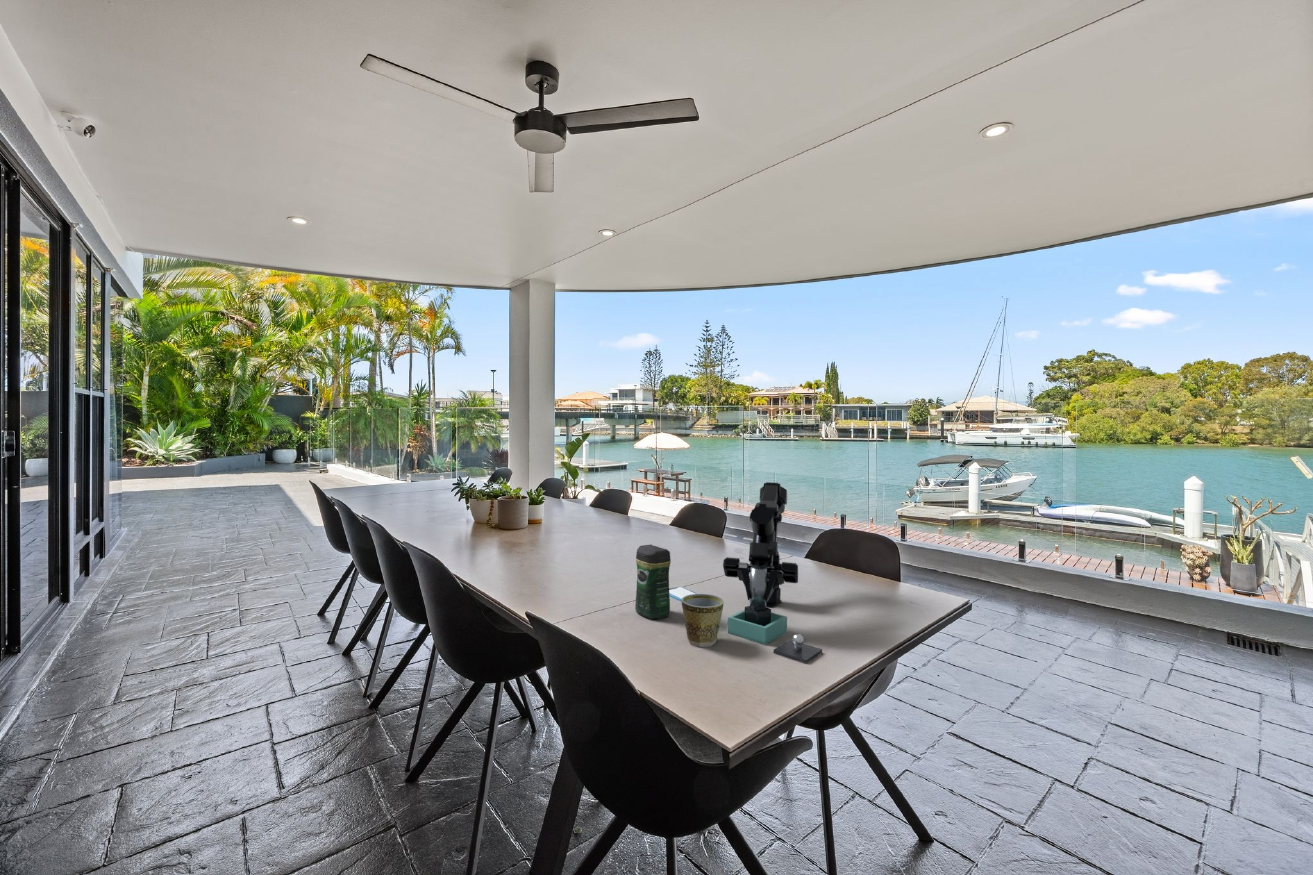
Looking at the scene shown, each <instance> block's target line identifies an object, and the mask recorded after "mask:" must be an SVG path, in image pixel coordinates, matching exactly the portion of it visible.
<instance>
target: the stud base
mask: <svg viewBox="0 0 1313 875" xmlns="http://www.w3.org/2000/svg"><path fill="white" fill-rule="evenodd" d="M804 642H805V638H804V636H803V635H802V634H800V633H795V634H793V636H792V637H791V639H789V640H787V641H786V642H784V643H782V644H781V645H779V646H777V647H775V648H773V654H775V655H778V656H781V657H784V658H787V659H790V660H793V661H795V662H800V663H803V664H805V665H807V664H808V663H809V662H811V661H813V660H814V659H815V658H816V657H818V656H819V655H821V654H822V653H823V649H822V648H820V647H816V646H814V645H811V644H810V645H809V644H807V643H804Z"/></svg>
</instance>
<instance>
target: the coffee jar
mask: <svg viewBox="0 0 1313 875" xmlns="http://www.w3.org/2000/svg"><path fill="white" fill-rule="evenodd" d="M635 554H636V555H635V562H636V573H637V574H636V590H635V607H634V608H635V612H636V613H637V614H639V615H641V616H642V617H645V618H647V619H662V618H663V619H664V618H665V617H667V616H669V615H670V613H671V602H670V601H671V600H670V599H671V597H670V596H669V589H670V566H671V560H672V559H671V552H670V550H668V549H667V548H663V547H659V546H657V545H653V544H644V545H640V546H638V548H637V549H636V553H635Z"/></svg>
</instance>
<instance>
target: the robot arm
mask: <svg viewBox="0 0 1313 875" xmlns="http://www.w3.org/2000/svg"><path fill="white" fill-rule="evenodd" d="M786 505H788V491H787V489H786V488H784V487H783V486H782V485H781V483H779V482H769V481H767V482H764V483H763V486H761V487H760V490H759V502H756V503H755V505H754V508H753V509H751V512H750V514H749V521H750V523H751V531H752V533H753V534H752V541H751V542H749V552H748V562H749V563H748V562H743V561H742V562H741V560H740V558H739V557H731V556H730V557H728V556H727V557H725V558H724V559H723V561H722V562H723V563H722V567H723V572H724V576H725V577H727V578H737V579H738V580H739V581H740V582H742V583H743V586H744V588H745V593H746V596H747V600H748V601H750V569H751V567H752V566H762V567H765V568H767V587H766V607H767V608H773V607H775V606H777V605H778V604H779V605H780V604H781V603H783V602H782V600H781V595H782V594H781V592H782V589H781V588H780V586H782V585H783V584H785V583H787V584H788V583H789V584H797V583H799V565H798V563H796V562H789V561H787V562H786V561H782V562H781V561H780V560H781V559H780V554H779V550H778V547H779V545H778V530H779V525H780V523H782V521H783V514H784V512H785V509H786V508H785V507H786Z"/></svg>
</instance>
